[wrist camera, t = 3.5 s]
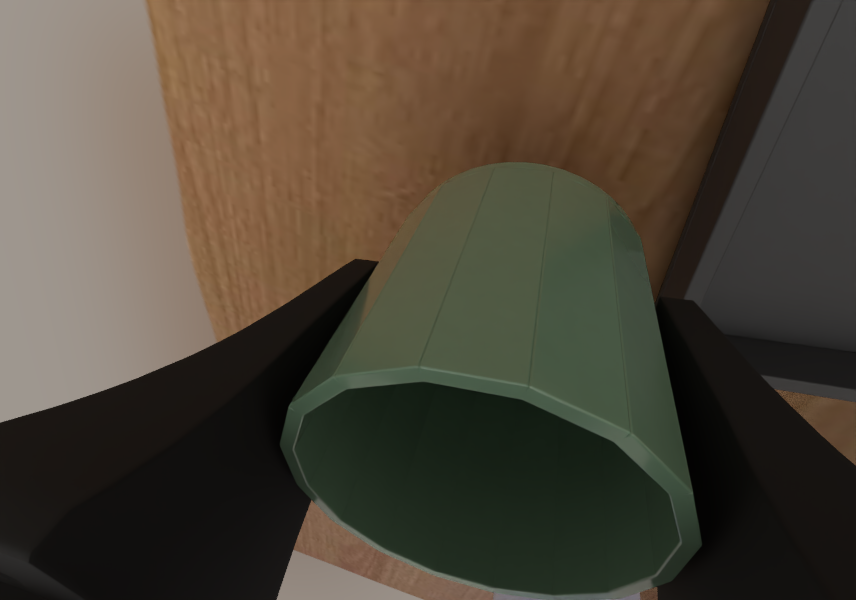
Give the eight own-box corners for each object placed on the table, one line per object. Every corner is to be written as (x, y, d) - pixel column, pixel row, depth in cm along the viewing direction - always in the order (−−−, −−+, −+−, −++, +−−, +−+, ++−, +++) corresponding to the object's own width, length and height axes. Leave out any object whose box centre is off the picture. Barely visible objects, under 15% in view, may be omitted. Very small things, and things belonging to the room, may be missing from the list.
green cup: (611, 376, 12) (630, 632, 8) (408, 342, 13) (321, 543, 9) (681, 170, 8) (798, 433, 4) (391, 152, 10) (228, 333, 5)
